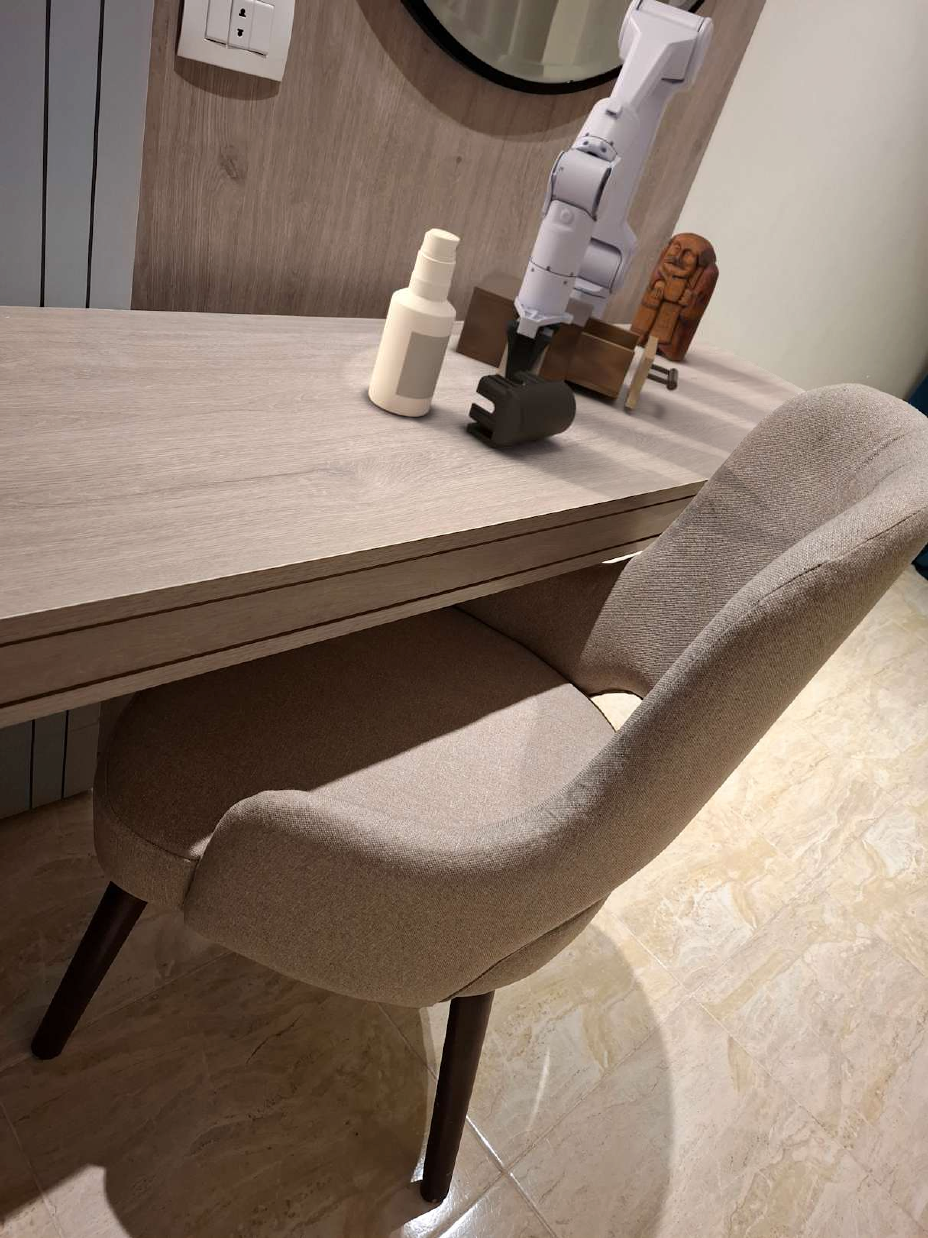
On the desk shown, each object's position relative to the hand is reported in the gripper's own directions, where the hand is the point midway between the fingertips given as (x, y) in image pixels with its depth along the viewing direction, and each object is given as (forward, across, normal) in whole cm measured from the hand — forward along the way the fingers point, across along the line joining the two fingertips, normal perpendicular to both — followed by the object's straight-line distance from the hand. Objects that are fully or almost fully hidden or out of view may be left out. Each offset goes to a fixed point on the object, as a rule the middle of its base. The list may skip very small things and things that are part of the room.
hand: (516, 379), depth 110 cm
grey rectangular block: (+2, 0, 0) cm, 2 cm away
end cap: (+2, -14, -3) cm, 14 cm away
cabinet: (+2, +14, +2) cm, 14 cm away
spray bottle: (+2, -16, +10) cm, 19 cm away
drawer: (+1, +14, -10) cm, 17 cm away
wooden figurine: (+2, +46, -16) cm, 49 cm away
